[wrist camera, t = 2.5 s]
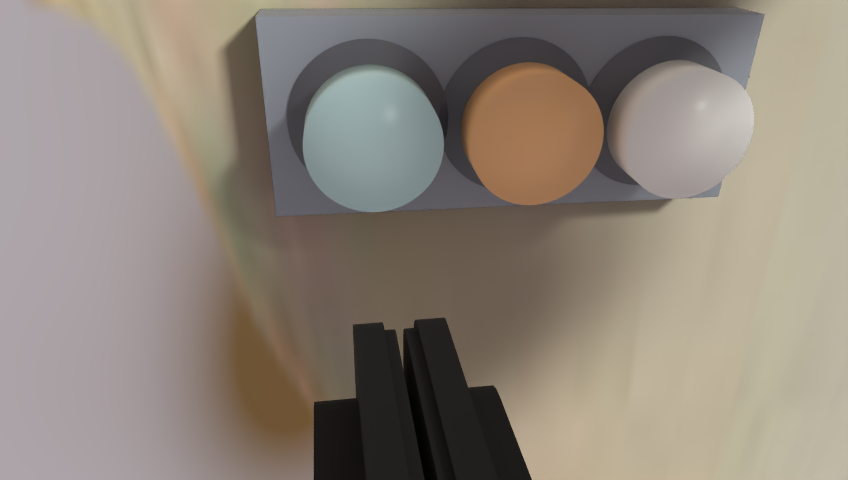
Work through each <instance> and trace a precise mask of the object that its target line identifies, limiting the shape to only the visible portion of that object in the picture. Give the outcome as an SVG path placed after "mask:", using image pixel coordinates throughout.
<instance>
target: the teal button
mask: <svg viewBox="0 0 848 480" xmlns="http://www.w3.org/2000/svg"><path fill="white" fill-rule="evenodd" d="M443 151H444V137H443V131H442V127H441V124H440V120H439V118H438V116H437V114H436V112H435V110H434V108H433V107H432V105H431V103H430V101H429V99H428V97H427V96H426V94H425V93H424V91H423V90H422V89H421V88H420V86H419V85H418V84H417V83H416V82H415V81H414V80H412V79H411V78H410V77H408V76H407V75H405V74H404V73H402V72H400V71H398V70H396V69H393V68H390V67H387V66H382V65H371V64H368V65H359V66H354V67H350V68H347V69H345V70H342V71H340V72H338V73H336V74H335V75H333V76H332V77H330V78H329V79H328V80H327V81H325V82H324V83H323V84H322V85H321V86H320V88H319V89H318V90H317V91H316V93H315V94H314V96H313V98H312V99H311V101H310V104H309V106H308V109H307V112H306V116H305V124H304V134H303V155H304V161H305V164H306V167H307V170H308V172H309V174H310V176H311V178H312V179H313V181H314V183H315V184H316V185H317V186H318V188H319V189H320V190H321V191H322V192H323V193H324V194H325V195H326V196H327V197H329V198H330V199H332V200H333V201H335V202H336V203H338V204H340V205H342V206H345V207H347V208H350V209H353V210H357V211H363V212H382V211H388V210H392V209H395V208H398V207H401V206H403V205H405V204H407V203H409V202H411V201H412V200H414V199H415V198H417V197H418V196H419V195H420V194H421V193H423V192H424V191H425V189H426V188H427V187H428V186H429V185H430V184H431V182H432V181H433V179H434V178H435V176H436V174H437V172H438V170H439V167H440V165H441V161H442V157H443Z"/></svg>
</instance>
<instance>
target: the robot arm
mask: <svg viewBox="0 0 848 480" xmlns="http://www.w3.org/2000/svg"><path fill="white" fill-rule="evenodd" d="M353 339H354V361H355V382H356V398H353V399H342V400H332V401H321V402H314V480H532V479H531V477H530V474H529V471H528V469H527V466H526V464H525V461H524V458H523V456H522V453H521V451H520V448H519V446H518V443H517V440H516V438H515V435H514V433H513V430H512V427H511V425H510V422H509V420H508V417H507V414H506V412H505V409H504V407H503V404H502V401H501V399H500V396H499V394H498V392H497V390H496V388H495V387H494V386H482V387H471V388H468V386H467V383H466V380H465V377H464V374H463V371H462V368H461V365H460V362H459V359H458V356H457V352H456V349H455V346H454V343H453V340H452V337H451V334H450V331H449V328H448V325H447V322H446V319H445V318H434V319H421V320H415V321H414V328H407V329H404V334H403V366H402V361H401V356H400V351H399V346H398V341H397V336H396V331H395V329H394V330H384V325H383V322H381V323H368V324H355V325H353ZM403 369H404V372H403Z"/></svg>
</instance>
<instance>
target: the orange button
mask: <svg viewBox="0 0 848 480" xmlns="http://www.w3.org/2000/svg"><path fill="white" fill-rule="evenodd" d="M603 136H604V126H603V119H602V115H601V112H600V109H599V107H598V105H597V103H596V101H595V99H594V98H593V97H592V95H591V94H590V93H589V92H588V91H587V90H586V89H585V88H584V87H583V86H581V85H580V84H579V83H577V82H576V81H574V80H573V79H571V78H570V77H568V76H567V75H566V74H564V73H563V72H561V71H560V70H558V69H556V68H554V67H552V66H549V65H546V64H542V63H536V62H524V63H517V64H513V65H510V66H507V67H504V68H502V69H500V70H498V71H496V72H495V73H493V74H492V75H490V76H489V77H487V78H486V79H485V80H484V81H483V82H482V83H481V84H480V85H479V86H478V87H477V88H476V90H475V91H474V92H473V94H472V95H471V97H470V99H469V101H468V102H467V104H466V107H465V110H464V113H463V117H462V122H461V140H462V145H463V148H464V152H465V154H466V156H467V158H468V160H469V162H470V163H471V165H472V167H473V169H474V170H475V172H476V174H477V176H478V177H479V179H480V180H481V182H482V183H483V185H484V186H485V187H486V188H487V189H488V190H489V191H490V192H492V193H493V194H494V195H496V196H497V197H499V198H501V199H503V200H505V201H507V202H511V203H514V204H520V205H538V204H543V203H548V202H551V201H553V200H556V199H558V198H560V197H562V196H564V195H566V194H567V193H569V192H571V191H572V190H573V189H575V188H576V187H577V186H578V185H579V184H580V183H581V182H582V181H583V180H584V179H585V178H586V177H587V176H588V174H589V173H590V172H591V170H592V168H593V167H594V165H595V163H596V161H597V159H598V157H599V154H600V151H601V148H602V143H603Z"/></svg>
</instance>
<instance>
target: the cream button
mask: <svg viewBox="0 0 848 480" xmlns="http://www.w3.org/2000/svg"><path fill="white" fill-rule="evenodd" d="M753 128H754V111H753V106H752V102H751V100H750V97H749V95H748V94H747V92H746V90H745V89H744V88H743V87H742V85H741V84H739V83H738V82H737V81H736V80H734V79H733V78H731V77H729V76H727V75H724V74H722V73H720V72H717V71H715V70H712V69H710V68H707V67H705V66H703V65H700V64H698V63H695V62H691V61H687V60H672V61H667V62H662V63H659V64H657V65H654V66H652V67H650V68H648V69H646V70H644V71H643V72H641V73H640V74H638V75H637V76H636V77H635V78H634V79H632V80H631V81H630V82H629V83H628V84H627V85H626V87H625V88H624V89H623V90H622V92H621V93H620V94H619V96H618V98H617V99H616V101H615V103H614V105H613V107H612V110H611V112H610V115H609V119H608V124H607V142H608V147H609V150H610V153H611V155H612V157H613V159H614V161H615V162H616V163H617V165H618V166H619V167H620V168H621V169H622V170H624V171H625V172H626V173H627V174H628V175H629V176H630V177H632V178H633V179H634V180H635V181H636V182H637V183H638V184H640V185H641V186H642V187H643V188H644V189H646V190H647V191H649V192H650V193H652V194H654V195H657V196H660V197H664V198H672V199H679V198H687V197H691V196H695V195H697V194H700V193H703V192H705V191H707V190H709V189H711V188H712V187H714V186H716V185H717V184H718V183H720V182H721V181H722V180H724V179H725V178H726V177H727V176H728V175H729V174H730V173H731V172H732V171H733V170H734V169H735V167H736V166H737V165H738V163H739V162H740V161H741V159H742V158H743V156H744V154H745V152H746V150H747V148H748V146H749V143H750V140H751V137H752V133H753Z"/></svg>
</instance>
